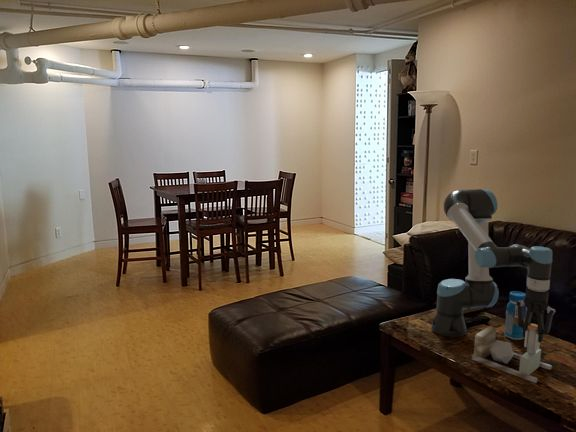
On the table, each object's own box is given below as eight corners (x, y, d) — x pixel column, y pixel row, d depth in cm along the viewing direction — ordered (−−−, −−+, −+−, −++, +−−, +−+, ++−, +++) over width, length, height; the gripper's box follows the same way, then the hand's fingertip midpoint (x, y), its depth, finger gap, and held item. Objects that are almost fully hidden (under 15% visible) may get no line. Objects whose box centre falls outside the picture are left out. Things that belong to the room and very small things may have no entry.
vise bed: (471, 359, 189) (473, 335, 187) (488, 347, 199) (490, 325, 197) (535, 383, 171) (538, 357, 169) (551, 369, 181) (553, 344, 179)
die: (515, 361, 188) (505, 338, 192) (519, 360, 181) (508, 335, 184) (495, 367, 190) (485, 343, 194) (497, 366, 182) (487, 341, 186)
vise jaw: (517, 373, 177) (521, 328, 174) (530, 362, 185) (534, 319, 182) (528, 377, 174) (533, 332, 171) (540, 366, 182) (545, 323, 179)
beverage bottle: (500, 335, 211) (503, 292, 207) (509, 330, 216) (513, 289, 212) (518, 342, 204) (522, 298, 201) (528, 336, 209) (532, 294, 205)
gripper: (511, 285, 177) (505, 343, 182) (557, 296, 166) (550, 358, 170) (519, 281, 182) (514, 337, 186) (564, 291, 171) (558, 351, 175)
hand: (531, 347), depth 178 cm, fingers closed on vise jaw, 3 cm apart
